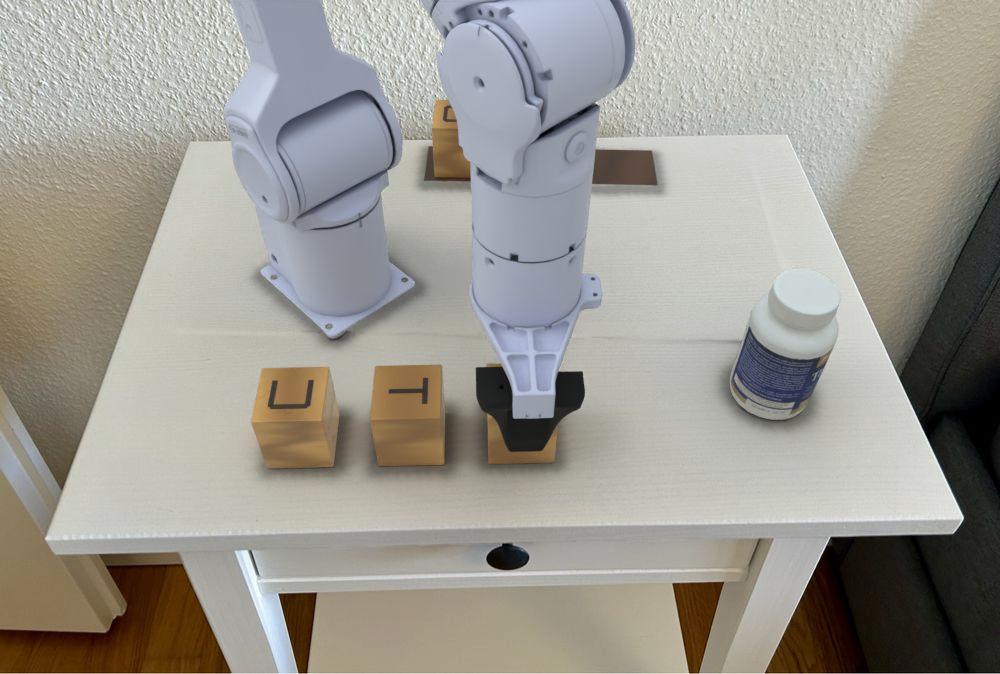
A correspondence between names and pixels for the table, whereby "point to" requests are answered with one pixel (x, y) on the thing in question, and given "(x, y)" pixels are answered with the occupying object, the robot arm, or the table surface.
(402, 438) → the tile
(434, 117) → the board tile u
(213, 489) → the table surface
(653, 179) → the word board
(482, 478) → the table surface
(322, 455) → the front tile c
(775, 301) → the pill bottle
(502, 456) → the wooden letter cube
